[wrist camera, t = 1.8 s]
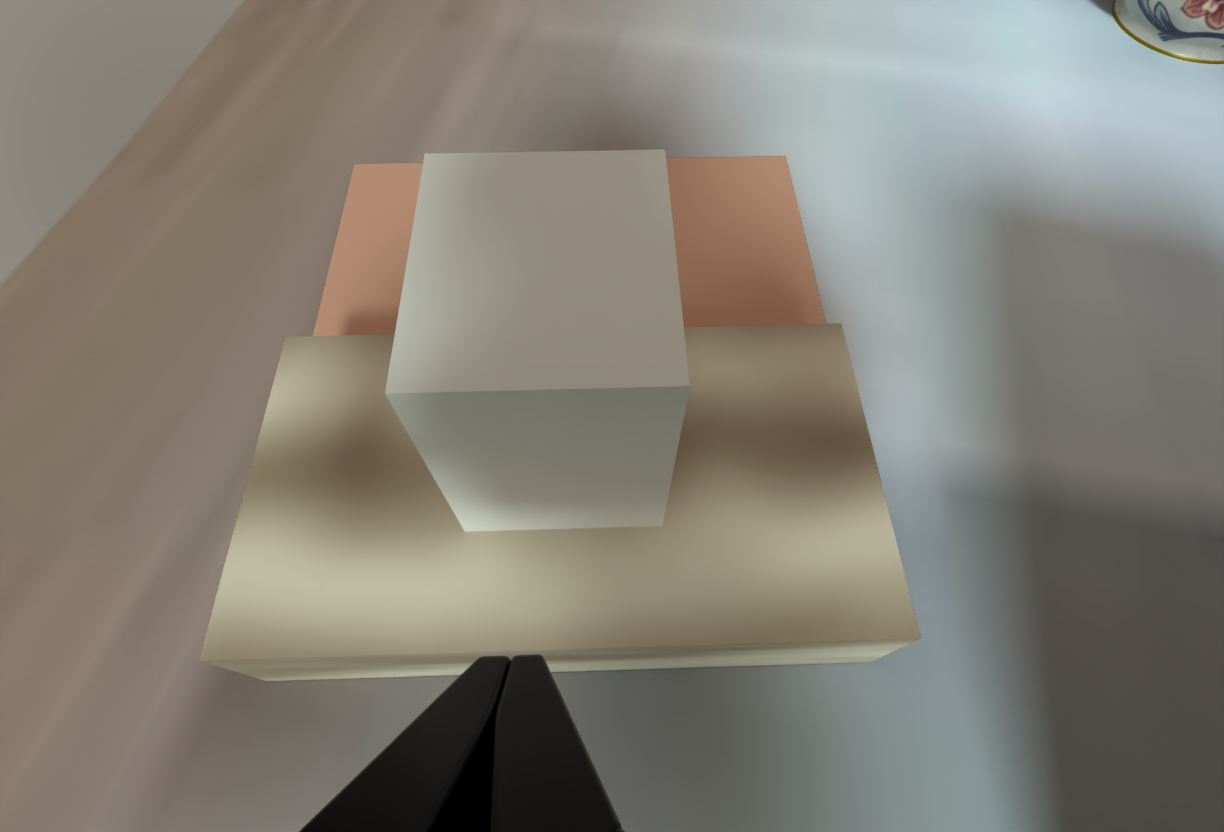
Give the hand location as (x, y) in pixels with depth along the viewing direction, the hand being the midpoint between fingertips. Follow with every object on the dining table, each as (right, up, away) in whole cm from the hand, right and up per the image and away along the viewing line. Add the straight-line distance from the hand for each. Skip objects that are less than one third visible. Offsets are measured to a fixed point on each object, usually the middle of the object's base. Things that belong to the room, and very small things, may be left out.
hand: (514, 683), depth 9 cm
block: (0, +3, +13) cm, 13 cm away
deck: (0, 0, +16) cm, 16 cm away
